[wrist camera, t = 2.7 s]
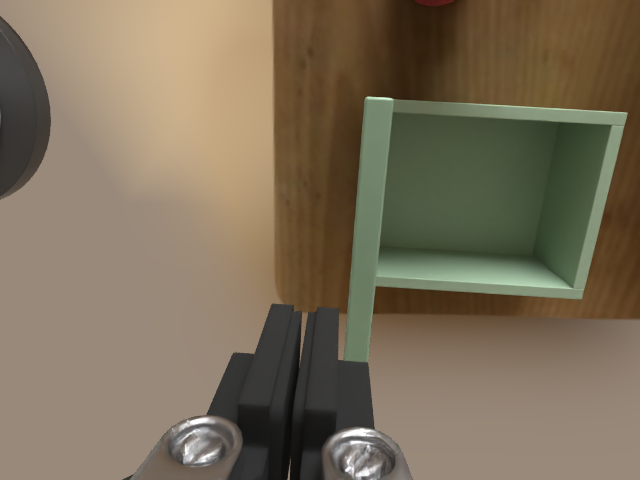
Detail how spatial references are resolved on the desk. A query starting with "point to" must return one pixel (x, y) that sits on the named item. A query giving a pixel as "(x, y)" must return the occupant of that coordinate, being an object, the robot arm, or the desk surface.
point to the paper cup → (433, 2)
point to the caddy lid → (367, 225)
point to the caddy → (495, 197)
